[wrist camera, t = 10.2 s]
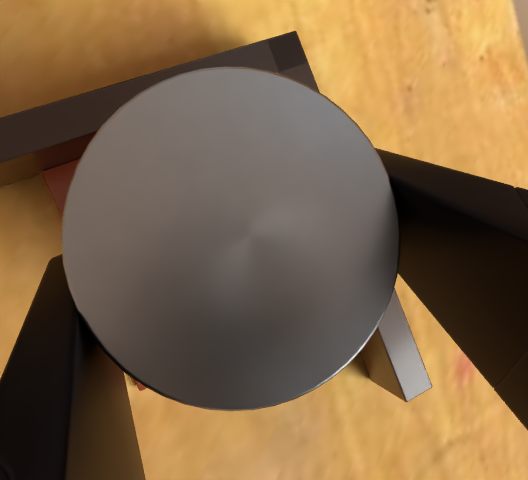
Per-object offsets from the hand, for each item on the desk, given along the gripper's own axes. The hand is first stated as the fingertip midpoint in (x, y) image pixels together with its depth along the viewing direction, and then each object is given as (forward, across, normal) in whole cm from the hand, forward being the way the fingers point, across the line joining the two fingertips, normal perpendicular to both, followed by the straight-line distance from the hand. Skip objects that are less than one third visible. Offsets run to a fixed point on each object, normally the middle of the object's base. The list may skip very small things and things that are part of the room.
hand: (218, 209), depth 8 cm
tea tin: (+4, 0, +5) cm, 7 cm away
